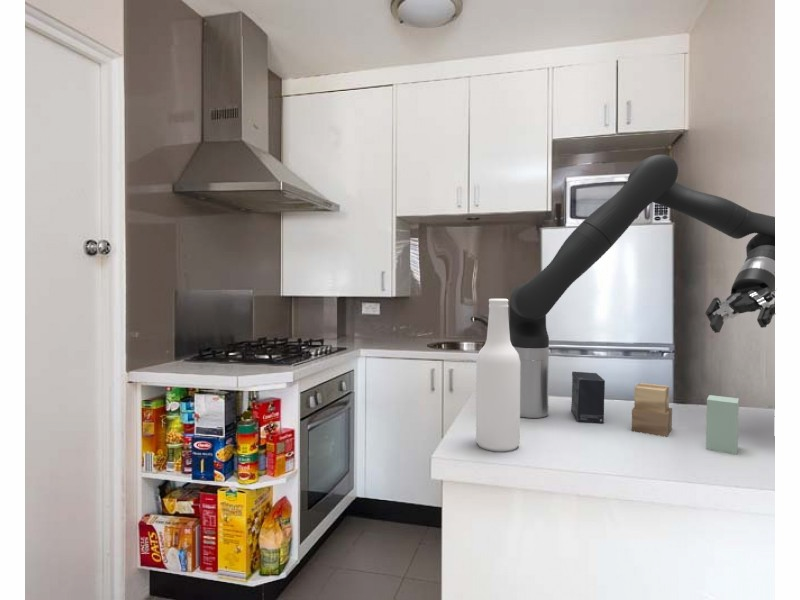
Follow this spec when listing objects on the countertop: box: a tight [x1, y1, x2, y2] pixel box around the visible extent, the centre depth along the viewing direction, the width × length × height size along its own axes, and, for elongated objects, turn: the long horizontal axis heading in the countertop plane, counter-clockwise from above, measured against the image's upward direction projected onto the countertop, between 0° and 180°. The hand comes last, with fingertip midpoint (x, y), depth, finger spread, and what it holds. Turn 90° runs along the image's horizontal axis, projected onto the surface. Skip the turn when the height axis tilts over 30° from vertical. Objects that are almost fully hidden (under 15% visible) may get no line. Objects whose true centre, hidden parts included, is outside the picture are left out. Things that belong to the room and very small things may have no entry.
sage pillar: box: [705, 394, 740, 455], centre depth 97 cm, size 5×5×10 cm
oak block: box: [633, 382, 670, 414], centre depth 109 cm, size 6×6×5 cm
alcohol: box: [475, 298, 521, 453], centre depth 99 cm, size 9×9×30 cm
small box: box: [570, 371, 606, 424], centre depth 120 cm, size 11×6×10 cm, turn 168°
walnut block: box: [631, 407, 673, 438], centre depth 109 cm, size 7×7×5 cm
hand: (737, 326), depth 98 cm, fingers open, 8 cm apart
